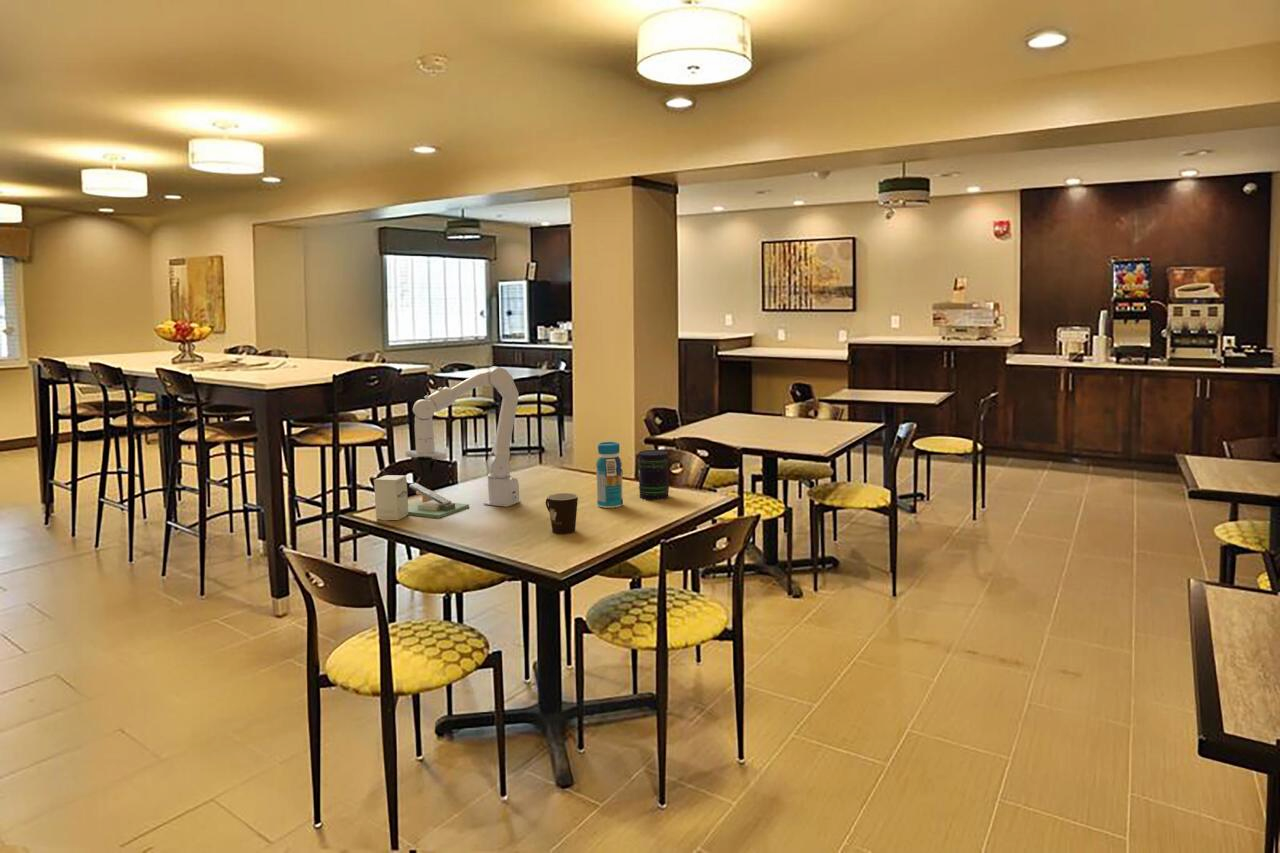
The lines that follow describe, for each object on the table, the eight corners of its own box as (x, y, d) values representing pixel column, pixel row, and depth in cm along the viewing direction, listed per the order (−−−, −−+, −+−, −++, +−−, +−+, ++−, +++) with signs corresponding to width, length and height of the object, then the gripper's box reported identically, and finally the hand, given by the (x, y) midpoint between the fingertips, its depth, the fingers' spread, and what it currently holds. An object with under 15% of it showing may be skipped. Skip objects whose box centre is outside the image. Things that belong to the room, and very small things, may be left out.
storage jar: (633, 496, 282) (632, 452, 280) (656, 492, 288) (655, 448, 285) (651, 501, 274) (650, 456, 272) (675, 497, 280) (674, 452, 278)
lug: (434, 501, 276) (434, 489, 276) (424, 504, 272) (423, 492, 271) (427, 500, 278) (426, 488, 277) (416, 503, 273) (415, 491, 272)
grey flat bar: (450, 503, 267) (451, 501, 266) (443, 505, 263) (444, 503, 263) (415, 484, 272) (416, 482, 272) (408, 487, 269) (408, 484, 268)
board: (469, 507, 271) (468, 500, 271) (438, 518, 258) (438, 510, 257) (424, 502, 279) (423, 495, 278) (392, 513, 265) (392, 505, 265)
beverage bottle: (591, 507, 268) (590, 444, 265) (605, 501, 275) (603, 440, 273) (615, 509, 264) (613, 446, 261) (628, 503, 272) (626, 442, 269)
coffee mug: (582, 533, 237) (581, 498, 236) (551, 536, 235) (550, 501, 234) (573, 523, 248) (572, 490, 247) (544, 526, 246) (542, 492, 245)
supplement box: (398, 521, 255) (395, 480, 254) (375, 520, 257) (372, 479, 255) (409, 515, 262) (407, 475, 261) (387, 514, 264) (384, 474, 262)
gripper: (397, 438, 265) (400, 481, 267) (435, 441, 259) (437, 485, 261) (412, 435, 271) (415, 477, 273) (449, 437, 265) (451, 480, 267)
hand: (427, 480), depth 267 cm, fingers closed
